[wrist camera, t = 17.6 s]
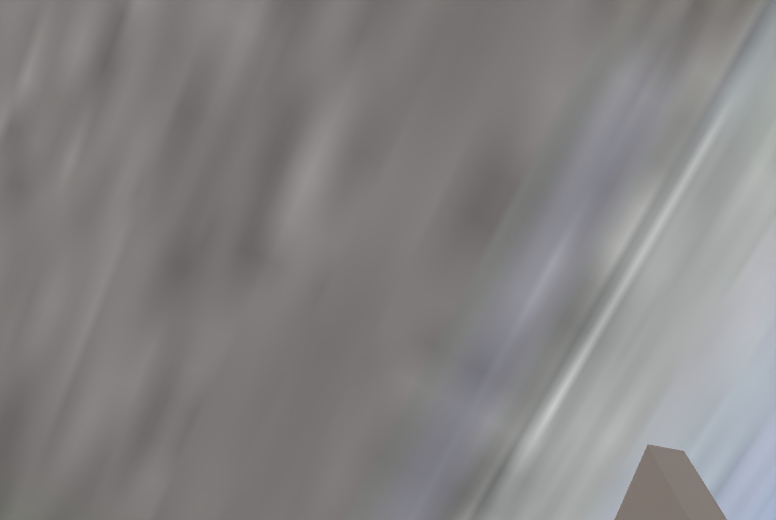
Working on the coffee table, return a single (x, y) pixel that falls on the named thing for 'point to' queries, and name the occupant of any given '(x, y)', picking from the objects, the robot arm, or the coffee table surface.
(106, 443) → the coffee table surface
